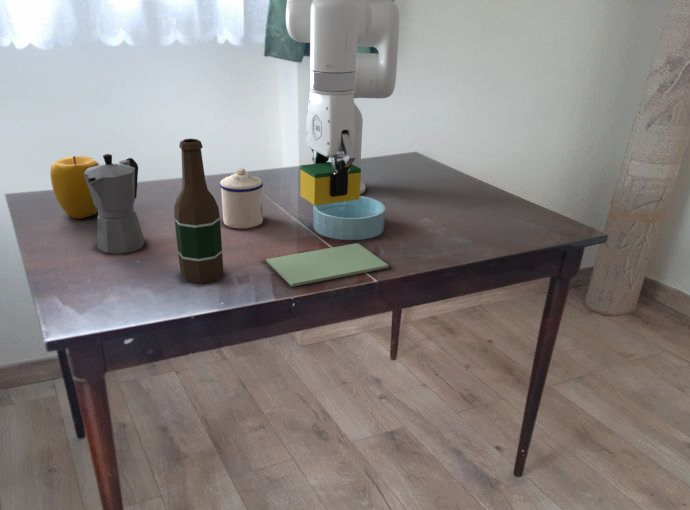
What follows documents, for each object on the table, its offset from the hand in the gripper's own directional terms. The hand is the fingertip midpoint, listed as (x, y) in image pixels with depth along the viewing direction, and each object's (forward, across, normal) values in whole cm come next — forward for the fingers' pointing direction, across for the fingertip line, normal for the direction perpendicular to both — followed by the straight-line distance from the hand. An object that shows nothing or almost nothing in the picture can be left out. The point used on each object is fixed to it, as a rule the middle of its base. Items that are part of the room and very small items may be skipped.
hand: (329, 189), depth 113 cm
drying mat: (+14, 0, 0) cm, 14 cm away
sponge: (+2, 0, 0) cm, 2 cm away
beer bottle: (+15, -5, -23) cm, 28 cm away
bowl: (+14, -15, +12) cm, 24 cm away
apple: (+14, -46, -38) cm, 61 cm away
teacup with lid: (+14, -29, -7) cm, 33 cm away
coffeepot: (+15, -26, -33) cm, 44 cm away
